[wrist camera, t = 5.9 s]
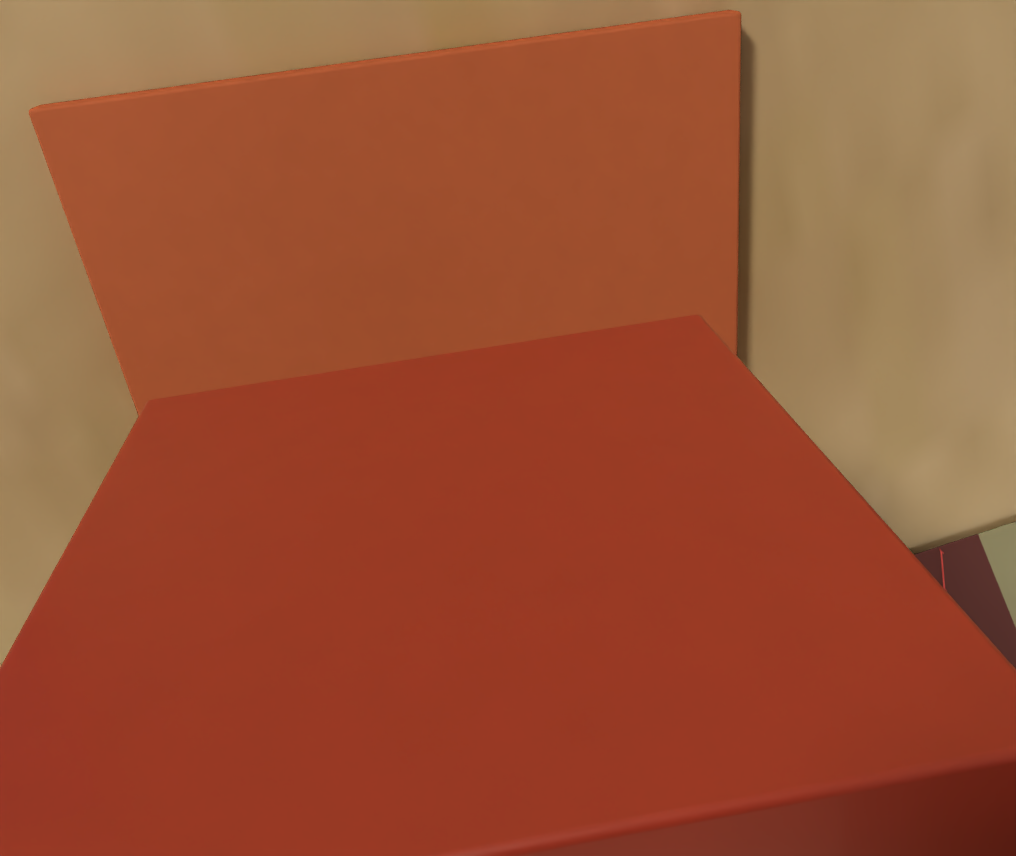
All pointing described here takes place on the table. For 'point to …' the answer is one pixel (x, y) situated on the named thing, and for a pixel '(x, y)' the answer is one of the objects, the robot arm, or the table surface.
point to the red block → (499, 628)
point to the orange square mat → (408, 203)
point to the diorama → (981, 581)
